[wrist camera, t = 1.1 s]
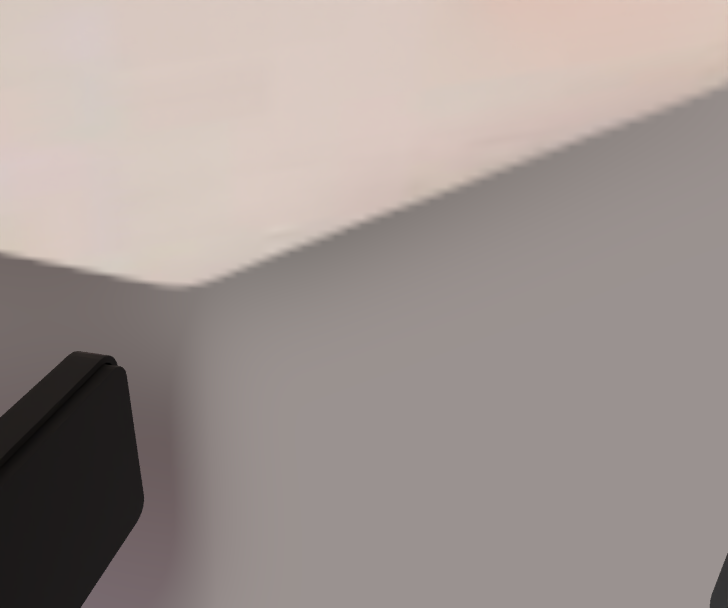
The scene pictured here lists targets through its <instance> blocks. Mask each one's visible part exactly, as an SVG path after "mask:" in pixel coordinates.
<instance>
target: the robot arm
mask: <svg viewBox="0 0 728 608" xmlns="http://www.w3.org/2000/svg"><path fill="white" fill-rule="evenodd" d="M143 503H144V494H143V487H142V480H141V473H140V466H139V459H138V452H137V445H136V438H135V431H134V424H133V417H132V410H131V403H130V396H129V389H128V382H127V375H126V371H125V370H124V368H123V367H121V366H118V365H117V362H116V361H115V359H114V358H113V357H112V356H109V355H102V354H95V353H88V352H81V351H76V352H73V353H71V354H70V355H68V356H67V357H66V358H65V359H64V360H63V361H62V362H61V363H60V364H59V365H57V366H56V367H55V368H54V369H53V370H52V371H51V372H50V373H49V374H48V375H46V376H45V377H44V378H43V379H42V380H41V381H40V382H39V383H38V384H37V385H35V386H34V387H33V388H32V389H31V390H30V391H29V392H28V393H27V394H26V395H25V396H23V397H22V398H21V399H20V400H19V401H18V402H17V403H16V404H15V405H14V406H13V407H11V408H10V409H9V410H8V411H7V412H6V413H5V414H4V415H2V416H1V417H0V608H81V606H82V604H83V603H84V602H85V600H86V599H87V597H88V595H89V594H90V592H91V591H92V589H93V588H94V586H95V585H96V583H97V582H98V580H99V579H100V577H101V576H102V574H103V573H104V571H105V570H106V568H107V567H108V565H109V563H110V562H111V561H112V559H113V558H114V556H115V554H116V553H117V552H118V550H119V548H120V547H121V545H122V544H123V542H124V541H125V539H126V538H127V536H128V535H129V533H130V532H131V530H132V529H133V527H134V526H135V524H136V523H137V521H138V519H139V517H140V514H141V512H142V509H143ZM710 608H728V554H727V556H726V559H725V562H724V564H723V567H722V569H721V572H720V575H719V577H718V580H717V582H716V585H715V588H714V590H713V593H712V596H711V600H710Z"/></svg>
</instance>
